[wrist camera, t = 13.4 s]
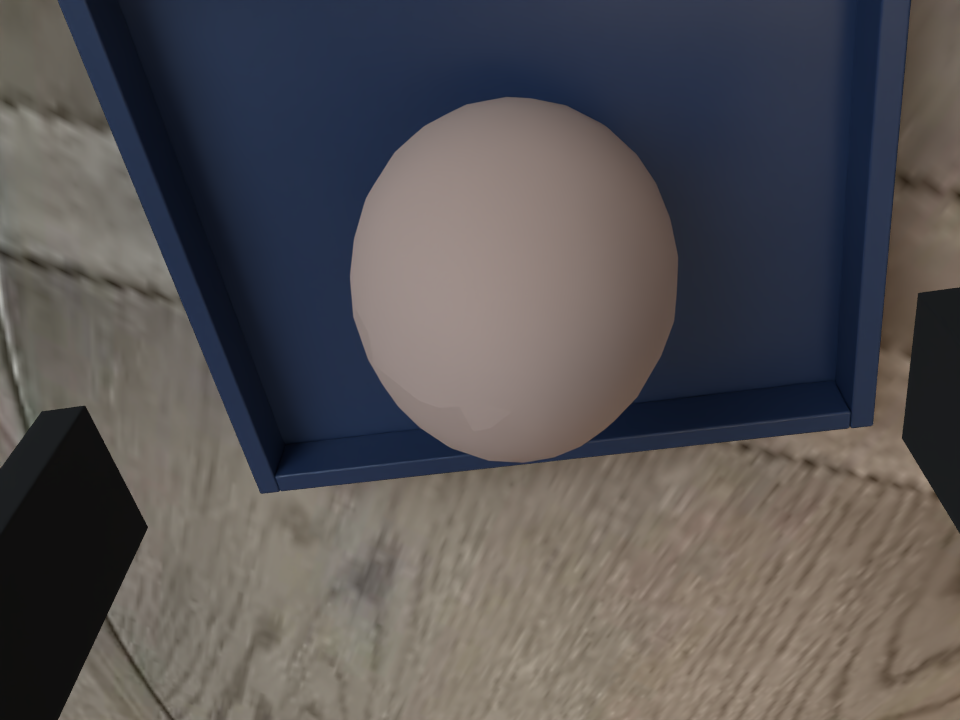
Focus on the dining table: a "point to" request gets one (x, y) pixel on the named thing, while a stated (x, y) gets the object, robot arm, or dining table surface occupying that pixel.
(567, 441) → the egg
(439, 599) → the dining table surface
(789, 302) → the tray
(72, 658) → the robot arm
